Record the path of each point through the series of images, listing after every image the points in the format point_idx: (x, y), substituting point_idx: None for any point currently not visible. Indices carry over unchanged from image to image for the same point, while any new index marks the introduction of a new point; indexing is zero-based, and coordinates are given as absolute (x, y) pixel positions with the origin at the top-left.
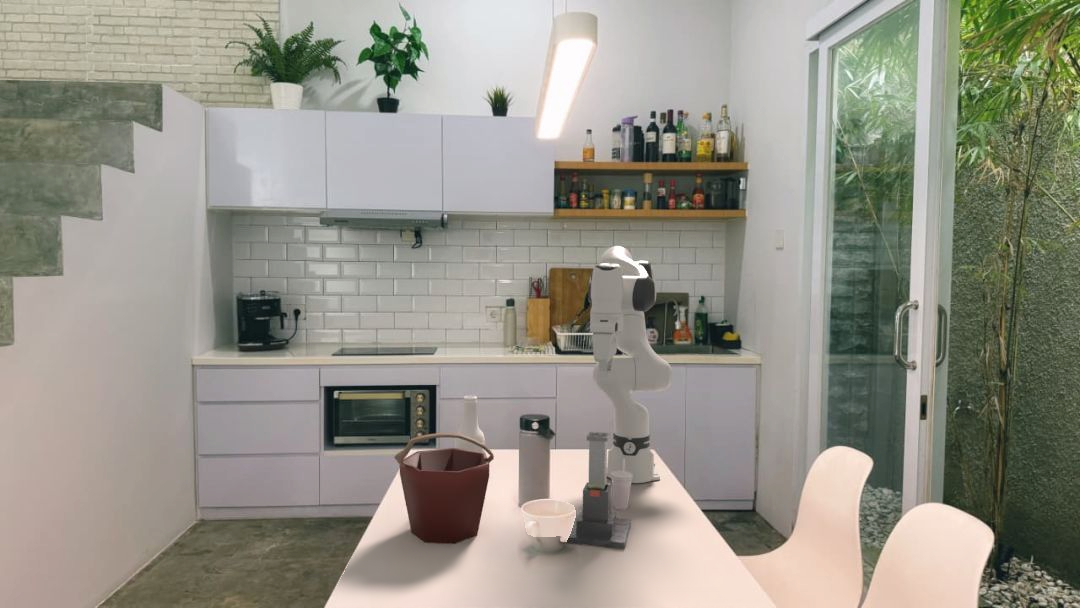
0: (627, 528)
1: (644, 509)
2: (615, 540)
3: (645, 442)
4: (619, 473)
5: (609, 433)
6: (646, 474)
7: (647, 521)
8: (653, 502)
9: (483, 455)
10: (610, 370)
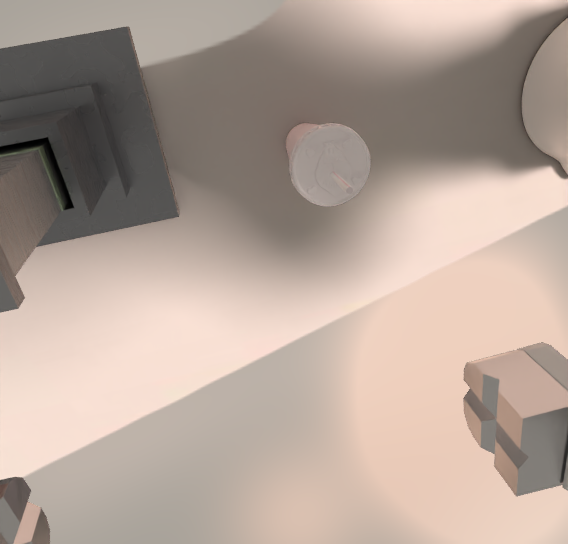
0: (107, 228)
1: (314, 208)
2: None
3: None
4: (325, 162)
5: (7, 310)
6: (561, 152)
7: (228, 241)
8: (378, 214)
9: None
10: (481, 442)
